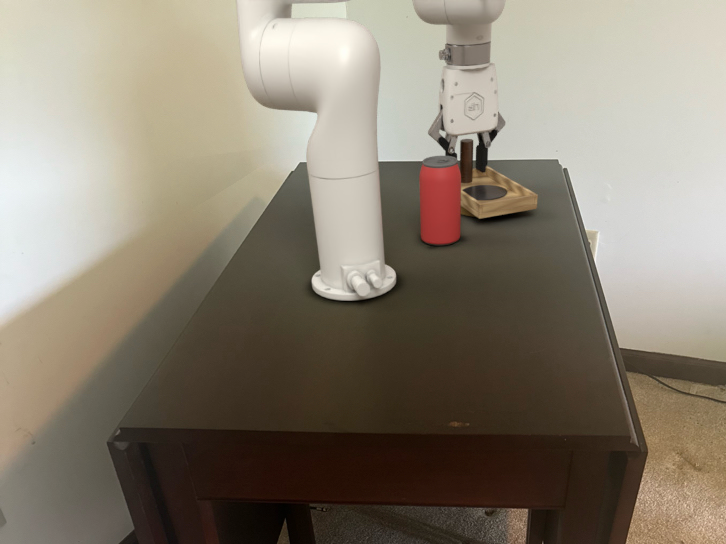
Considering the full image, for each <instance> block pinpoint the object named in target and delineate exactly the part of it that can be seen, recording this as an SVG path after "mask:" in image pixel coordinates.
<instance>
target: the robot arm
mask: <svg viewBox="0 0 726 544" xmlns="http://www.w3.org/2000/svg"><path fill="white" fill-rule="evenodd" d="M349 1H351V0H235V8H236V18H237V19H236V20H237V21H236V22H237V32H238V43H239V54H240V61H241V62H240V63H241V69H242V73H243V77H244V81H245V84H246V87H247V89H248V91H249V93H250V95H251V96H252V98H253V99H254V100H255V101H256V102H257V103H258V104H259V105H261V106H263V107H264V108H267V109H270V110H271V109H272V110H278V111H293V112H308V113H312V114H314V113H315V114H316V115H317V116H316V122H315V125H314V127H313V129H312V131H311V133H310V136H309V138H308V141H307V144H306V151H305V159H306V160H305V161H306V169H307V177H308V182H309V184H308V185H309V192H310V199H311V208H312V214H313V222H314V230H315V238H316V245H317V251H318V252H317V253H318V260H319V261H318V262H319V266H320V267H319V270H318V271H316V272H315V273H314V274H313V275H312V276H311V288H312V291H314V293H316V294H317V295H318V296H320V297H322V298H325V299H329V300H332V301H333V300H334V301H341V302H342V301H343V302H346V301H347V302H350V301H351V302H352V301H354V302H355V301H363V300H369V299H373V298H376V297H379V296H382V295H384V294H386V293H387V292H390V291H391V290H392V289H393V288H394V287H395V285H396V284H397V274H396V271H395V270H394V269H393V268H392V267H391V266H390V265H387V264H386V262H385V245H384V231H383V213H382V199H381V182H380V181H381V180H380V166H379V165H380V163H379V150H378V148H379V147H378V105H379V92H380V82H381V53H380V49H379V48H380V47H379V45H378V42H377V40H376V38H375V35H374V34H373V33H372V32H371V31H370V30H369V29H368V27H366V26H365V25H363V24H361V23H360V22H358V21H356V20H352V19H349V18H345V17H344V18H343V17H292V12H293V11H292V9H293V5H295V4H297V5H299V4H334V3H335V4H336V3H345V2H349ZM505 6H506V0H412V7H413V9H414V12H415V13H416V15H417V16H418V18H419V19H420V20H421V21H422V22H424V23H426V24H430V25H434V26H435V25H438V26H441V25H443V26H445V40H446V41H445V42H446V43H445V44H444V48H443V49H441V50H439V51H438V58H439V60H440V61H442V60H443V61H444V62H445V65H444V66H442V70H441V76H440V82H439V83H440V84H439V91H438V92H439V93H438V109H437V116H436V117H435V119H434V120H433V121H432V124H431V125H430V127H429V129H428V131H427V134H428V136H430V138H431V139H433V140H434V142H435V141H436V143H437V144H438V145H439V147H441V148H442V149H443V151H444V156H452V157H455V158H457V159H458V153H457V152H456V145H457V142H458V137H460V136H468V135H474V134H476V136H477V140H478V144H477V145H476V146H475V168H476V169H477V170H479V171H480V172H482V173H484V172H486V167H487V166H488V163H489V162H488V160H489V148H491V146H492V143H493V141H494V140H495V139H496V137H497V136H498V134H499V133H500V132H501V130H502V129H503V128H504V127H505V126H506V120H505V119H504V117H503V116H502V114H501V113H500V111H499V89H498V76H497V70H496V63H494V62H491V54H492V53H491V51H492V24H493V23H494V22H496V21H497V20H498V19H499V18H500V17H501V15H502V13H503V11H504V9H505ZM440 131H442V132H445V135H444V136H443V135H442V134H441V133H440Z"/></svg>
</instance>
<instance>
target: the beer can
mask: <svg viewBox="0 0 726 544" xmlns="http://www.w3.org/2000/svg"><path fill="white" fill-rule="evenodd" d="M458 162H459V160H458V157H457V158H455V157H452V156H445V155H433V156H428V157H426V158H423V160H422V161H421V164H422V165H421V168H420V171H419V177H418V179H419V180H418V181H419V216H420V217H419V219H420V239H421V241H422V242H423V243H425V244H427V245H429V246H434V247H444V246H445V247H446V246H450V245H452V244H455V243H457V242H458V241H459V239H460V238H461V223H462V222H461V220H462V219H461V217H462V216H461V215H462V214H461V173H460V165H459V164H458Z"/></svg>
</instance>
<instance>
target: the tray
mask: <svg viewBox="0 0 726 544" xmlns="http://www.w3.org/2000/svg"><path fill="white" fill-rule="evenodd" d="M459 169H460V173H461V206H462V207H464V208H465V209H466V210H468V211H469V212H471V213H472V214H473V215H475V216H476V217H475V218H477V219H478V220H481V219H487V218H492V217H498V216H502V215H503V216H505V215H509V214H515V213H520V212H526V211H533V210H537V208H538V199H539V197H538V196H539V195H538V194H537V193H536V192H534V191H532V190H530V189H529V188H527V187H525V186H523V185H522V184H520V183H518V182H516V181H515V180H513V179H511V178H509V177H507V176H506V175H504V174H503V173H501V172H500V171H497V170H496V169H494V168H492V167H490V166H488V165H487V166H486V172H484V173H482V172H480V171H479V170H477V169H476V167H475V168H474V139H472V138H463V139H460V141H459Z"/></svg>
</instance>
